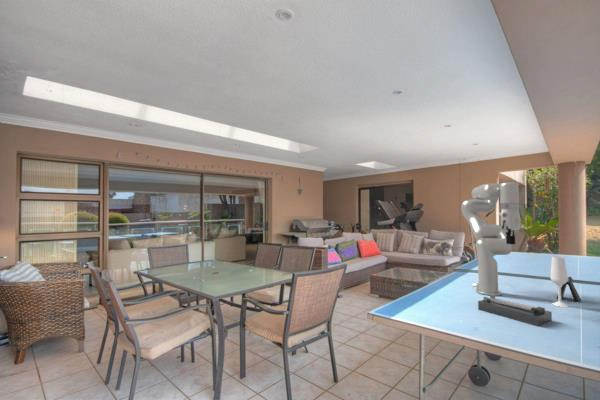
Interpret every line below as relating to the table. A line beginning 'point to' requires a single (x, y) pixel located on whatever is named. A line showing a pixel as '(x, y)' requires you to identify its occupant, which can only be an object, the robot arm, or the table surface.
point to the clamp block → (516, 312)
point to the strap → (511, 304)
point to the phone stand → (572, 289)
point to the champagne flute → (559, 276)
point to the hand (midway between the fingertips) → (510, 243)
